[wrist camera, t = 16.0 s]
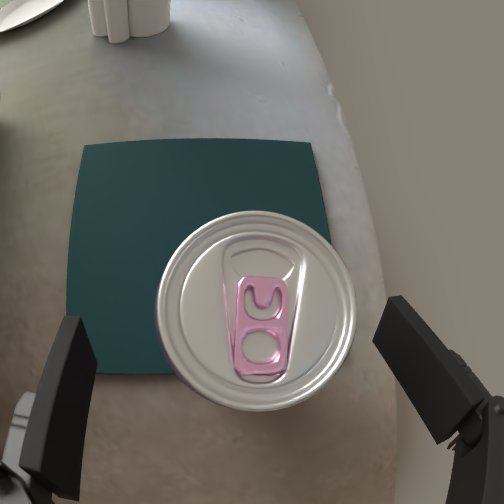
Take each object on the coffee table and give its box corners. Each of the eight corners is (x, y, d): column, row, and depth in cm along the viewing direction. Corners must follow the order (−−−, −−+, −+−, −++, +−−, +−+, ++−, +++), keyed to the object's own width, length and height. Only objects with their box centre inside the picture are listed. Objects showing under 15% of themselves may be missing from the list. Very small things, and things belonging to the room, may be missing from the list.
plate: (68, -20, 36) (67, -27, 34) (94, -1, 33) (93, -11, 31) (-14, 24, 29) (-17, 17, 27) (-11, 55, 27) (-15, 47, 25)
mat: (308, 145, 29) (310, 142, 29) (343, 353, 24) (346, 353, 23) (85, 148, 25) (84, 145, 24) (71, 371, 19) (68, 372, 19)
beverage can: (176, 368, 21) (143, 412, 7) (181, 288, 22) (163, 193, 8) (257, 372, 22) (361, 411, 8) (260, 294, 23) (358, 217, 9)
